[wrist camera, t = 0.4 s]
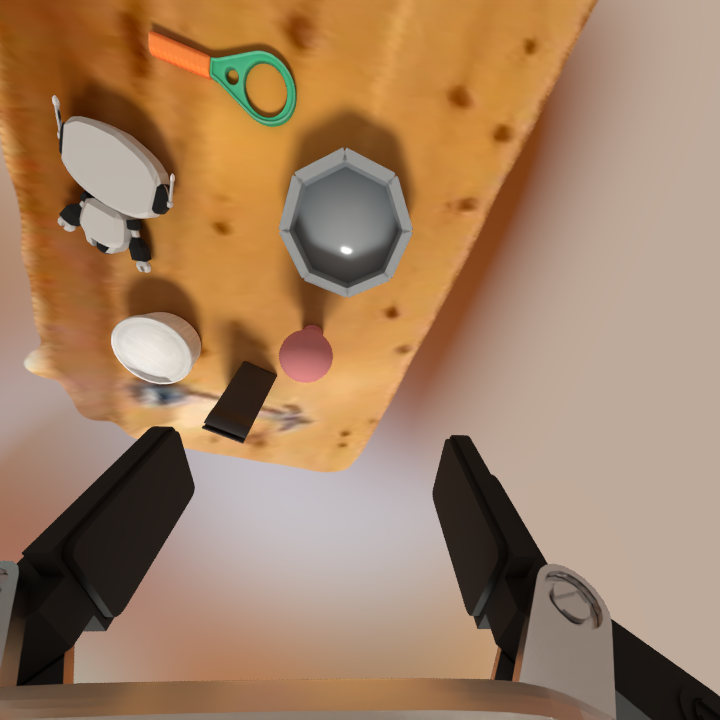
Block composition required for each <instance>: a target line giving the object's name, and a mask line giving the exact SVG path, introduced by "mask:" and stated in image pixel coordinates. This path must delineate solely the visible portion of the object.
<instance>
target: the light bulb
mask: <svg viewBox="0 0 720 720" xmlns="http://www.w3.org/2000/svg"><path fill="white" fill-rule="evenodd" d="M332 359H333V353H332V349H331V346H330V344H329V342H328V341H327V339H326V338H325V337H324V336H323V332H322V330H321V329H320V328H319V327H318V326H316V325H308V326H306V327H305V328H304V329H303V330H301V331H297V332H294V333H293V334H291V335H289V336H288V337H287V338H286V339H285V340H284V342H283V344H282V346H281V348H280V352H279V360H280V364H281V367H282V369H283V370H284V372H285V373H286V374H287V375H288V376H289V377H290V378H292V379H294V380H296V381H299V382H313V381H316V380H318V379H320V378H322V377H323V376H324V375H325V374H326V373H327V372H328V370H329V369H330V367H331V364H332Z"/></svg>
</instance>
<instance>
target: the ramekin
mask: <svg viewBox="0 0 720 720" xmlns="http://www.w3.org/2000/svg"><path fill="white" fill-rule="evenodd" d="M111 344H112V348H113V351H114V353H115V355H116V357H117V358H118V360H119V361H120V362H121V363H122V365H123V366H124V367H125V368H126V369H128V370H129V371H130V372H131V373H133V374H134V375H136V376H138V377H140V378H141V379H144V380H146V381H149V382H153V383H158V384H170V383H174V382H177V381H180V380H181V379H183V378H184V377H185V376H187V375H188V373H189V372H190V371H191V369H192V367H193V365H194V363H195V362H196V361H197V359H198V357H199V355H200V352H201V342H200V338H199V336H198V334H197V333H196V331H195V330H194V328H193V327H192V326H191V325H190V324H189V323H188V322H187V321H185V320H184V319H182V318H180V317H179V316H176V315H174V314H171V313H166V312H153V313H149V314H144V315H135V316H131V317H128V318H126V319H124V320H122V321H121V322H119V323H118V324H117V325H116V326H115V328H114V329H113V331H112V335H111Z"/></svg>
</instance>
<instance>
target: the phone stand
mask: <svg viewBox="0 0 720 720" xmlns="http://www.w3.org/2000/svg"><path fill="white" fill-rule="evenodd" d="M276 377H277V375H274V374H272V373H270V372H268V371H265V370H263V369H261V368H259V367H257V366H254V365H252V364H250V363H248V362H245V361H244V362H243V364H242V365H241V367H240V368H239V370H238V372H237V373H236V375H235V376H234V378H233V379H232V381H231V382H230V384H229V385H228V387H227V388H226V390H225V391H224V393H223V395H222V396H221V398H220V399H219V401H218V402H217V404H216V405H215V407H214V408H213V409H212V410H211V412H210V413H209V415H208V416H207V418H206V420H205V422H204V423H206V424H205V426H203V427H202V428H203V429H205V430H208V431H211V432H213V433H216V434H219V435H221V436H224V437H227V438H229V439H232V440H235V441H237V442H240V443H244V441H245V439H246V437H247V435H248V433H249V431H250V429H251V427H252V425H253V423H254V421H255V419H256V417H257V415H258V413H259V411H260V409H261V407H262V405H263V403H264V401H265V399H266V397H267V395H268V393H269V391H270V389H271V387H272V385H273V383H274V381H275V379H276Z"/></svg>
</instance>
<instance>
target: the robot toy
mask: <svg viewBox="0 0 720 720" xmlns="http://www.w3.org/2000/svg"><path fill="white" fill-rule="evenodd" d="M52 100H53V104H54V107H55V112H56V118H57V124H58V130H59V132H57V135H58V138H59V151H60V153H61V155H62V161H63V163H64V165H65V166H66V168H67V170H68V171H69V173H70V174H71V175H72V177H73V178H74V179H75V180H76V181H77V182H78V184H79V185H81V186H82V187H83V188H84V189H85V190H86V191H84V192H83V193H82V194H81V195H80V196H79V197H80V199H81V200H82V201H81V202H80V203H76V204H70V205H68V206H66V207H65V208H64V209H63V210H62V211H61V213H60V217H59V219H58V223H59V224H60V225H61V226H65V225H66V226H65V227H64V229H65V230H67V231H70V232H71V231H74V230H75V229H76V226H80V225H81V226H82V227H83V229H84V231H85V234H86V238H87V240H88V242H89V243H90V244H91V245H92V246H97V248H98V249H99V250H100V251H101V252H103V253H105V254H113V253H117V252H122V251H125V250H126V249H127V248H128V247H129V250H130V254H131V257H132V260H136V261H137V263H136V266H137V268H138V270H139V271H141V272H144V271H145V272H150V271H151V265H150V264H149V262H148V261H149V260H151V259H152V258H151V254H150V250H149V246H148V245H147V244H146V242H145V241H144V240H143V239H142V238H141V237H140V233H139V230H141V229H142V226H141V222H140V220H137V219H136V218H154V217H158V216H159V215H160V214H166V212H167V211H168V210H169V209H170V208H172V207H173V202H172V196H173V185H174V181H175V176H174V174H173V173H172V175H171V176H170V180H171V181H169V177H168V174H167V172H166V170H165V169H164V167H163V165H162V164H161V163H160V161H159V160H158V159H157V158H156V157H155V156H154V155H153V154H152V153H151V152H150V151H149V150H148V149H147V148H145V147H144V146H143V145H142V144H141V143H140V142H138V141H137V140H136V139H135V138H134V137H133V136H131V135H130V134H128V133H126V132H124V131H122V130H120V129H118V128H116V127H114V126H112V125H109V124H106V123H104V122H101V121H97V120H94V119H90V118H87V117H82V116H74V117H71V118H70V119H69V120H68V121H67V122H66V123H64V122H63V124H62V122H61V116H60V110H59V106H60V105H59V100H58V98H57V97H56V96H55V95H54V96H53V98H52Z"/></svg>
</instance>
